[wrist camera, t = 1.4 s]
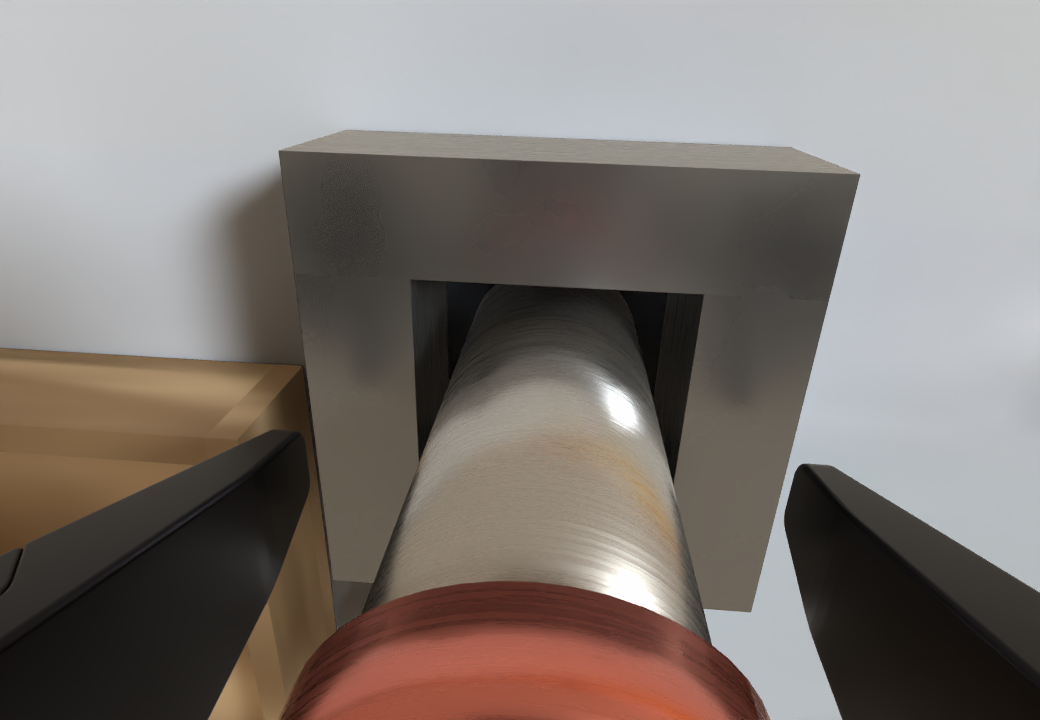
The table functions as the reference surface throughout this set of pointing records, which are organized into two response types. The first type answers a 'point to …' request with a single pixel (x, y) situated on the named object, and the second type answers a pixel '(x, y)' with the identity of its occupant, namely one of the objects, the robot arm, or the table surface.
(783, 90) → the table surface
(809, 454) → the table surface
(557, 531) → the pin
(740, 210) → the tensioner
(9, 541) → the tray
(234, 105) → the table surface
